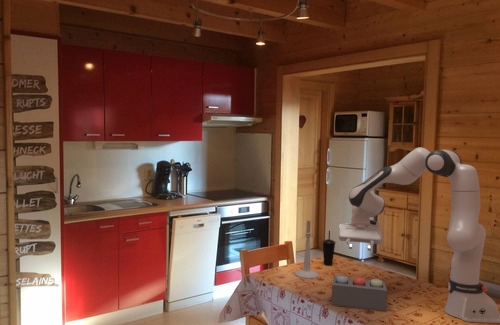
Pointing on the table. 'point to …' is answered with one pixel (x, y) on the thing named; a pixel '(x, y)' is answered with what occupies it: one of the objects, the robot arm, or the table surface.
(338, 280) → the blue button
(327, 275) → the table surface
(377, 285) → the green button
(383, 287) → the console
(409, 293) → the table surface
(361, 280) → the red button
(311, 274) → the candlestick
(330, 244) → the drinking cup
